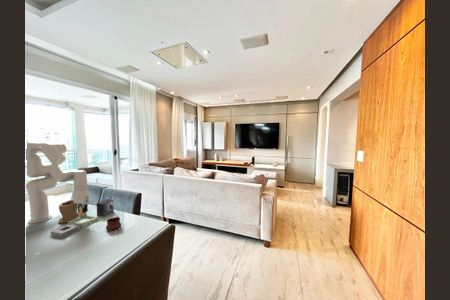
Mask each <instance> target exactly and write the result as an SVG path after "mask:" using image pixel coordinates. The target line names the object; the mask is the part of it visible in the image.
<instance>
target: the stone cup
mask: <svg viewBox="0 0 450 300" xmlns="http://www.w3.org/2000/svg"><path fill="white" fill-rule="evenodd" d="M58 210H59V213H60V214H61V216H62V217H60V218H59V219H58V223H60V224H64V223H67V222H68V221H71V220H73V219H75V218H78V217H80V212H78V207H77V204H76V203H74V201H73V199H70V200H66V201H63V202H61V203H60V204H59V205H58Z"/></svg>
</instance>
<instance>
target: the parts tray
mask: <svg viewBox="0 0 450 300" xmlns="http://www.w3.org/2000/svg"><path fill="white" fill-rule="evenodd" d="M97 221H99V216H97V215H89V214H87V217H85V218H80V217H78V218H75V219H73V220H71V221H68V222H66V223H67V224H66V225H68V224H71V225H77V226H79V228H84V227H86V226H88V225H91V224H92V223H94V222H97Z"/></svg>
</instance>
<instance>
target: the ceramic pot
mask: <svg viewBox="0 0 450 300" xmlns="http://www.w3.org/2000/svg"><path fill="white" fill-rule="evenodd" d="M106 223H107V224H106V226H105V230H106V231H107V232H109V233H111V232H112V231H113V232H116V231H115V230H117V231H119V230H120V229H121V228H120V227H122V222H121V218H120V217H119V216H116V217H110V218H108V219H106ZM119 228H120V229H119ZM118 229H119V230H118Z"/></svg>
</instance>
